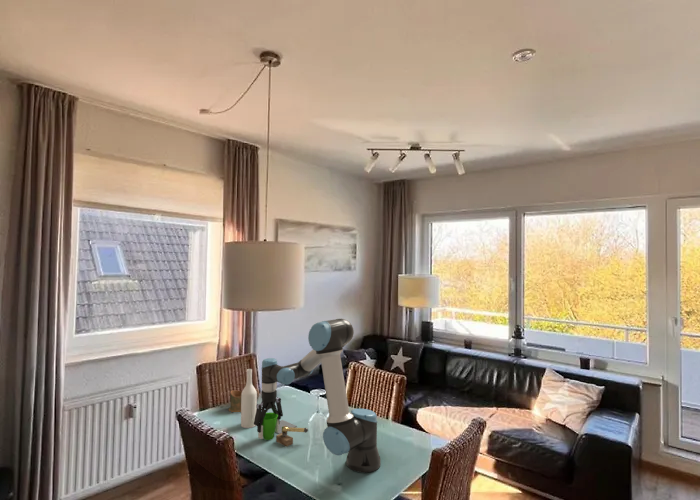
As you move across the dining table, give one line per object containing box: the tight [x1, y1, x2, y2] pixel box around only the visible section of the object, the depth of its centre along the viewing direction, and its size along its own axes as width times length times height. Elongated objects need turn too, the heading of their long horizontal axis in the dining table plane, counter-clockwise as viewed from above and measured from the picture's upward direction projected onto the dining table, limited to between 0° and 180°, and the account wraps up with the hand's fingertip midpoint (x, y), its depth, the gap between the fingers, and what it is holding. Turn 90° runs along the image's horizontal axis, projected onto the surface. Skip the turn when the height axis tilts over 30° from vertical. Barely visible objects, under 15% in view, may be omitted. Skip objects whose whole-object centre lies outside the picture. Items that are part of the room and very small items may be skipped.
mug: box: [228, 388, 260, 413], centre depth 233 cm, size 12×18×12 cm, turn 89°
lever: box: [282, 426, 309, 433], centre depth 192 cm, size 13×3×2 cm, turn 85°
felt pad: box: [274, 419, 298, 435], centre depth 209 cm, size 12×12×1 cm
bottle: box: [240, 368, 258, 429], centre depth 211 cm, size 8×8×30 cm
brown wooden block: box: [275, 432, 294, 448], centre depth 191 cm, size 8×4×5 cm, turn 49°
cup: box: [262, 411, 278, 441], centre depth 196 cm, size 9×9×11 cm
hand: (268, 434), depth 196 cm, fingers closed on cup, 9 cm apart
